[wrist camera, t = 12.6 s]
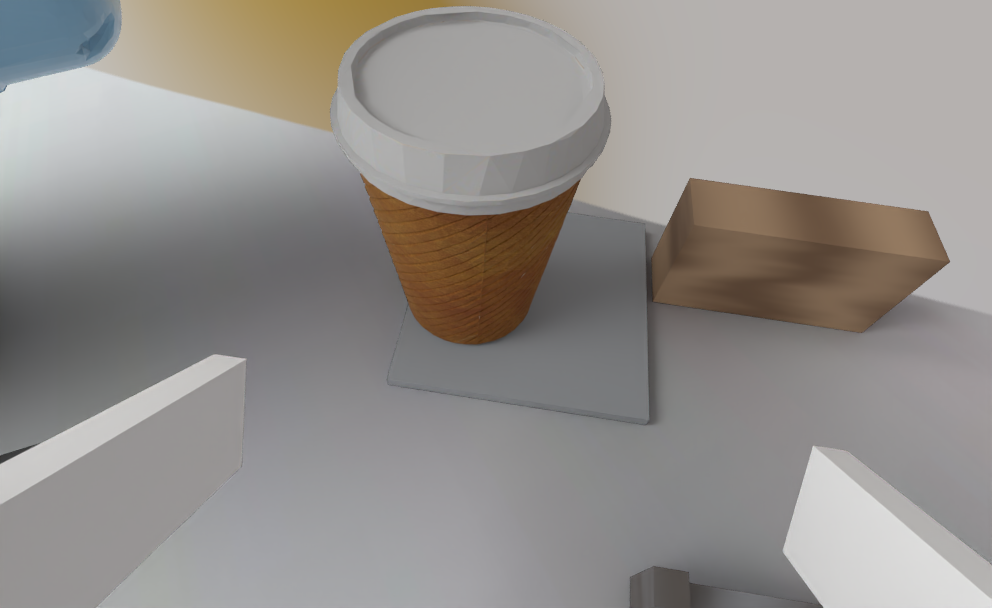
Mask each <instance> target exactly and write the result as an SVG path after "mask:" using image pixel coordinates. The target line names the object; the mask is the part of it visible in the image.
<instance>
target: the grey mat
mask: <svg viewBox="0 0 992 608" xmlns="http://www.w3.org/2000/svg"><path fill="white" fill-rule="evenodd" d="M387 382H388V385H394V386H400V387H406V388H413V389H419V390H426V391H432V392H438V393H445V394H451V395H458V396H464V397H470V398H477V399H483V400H489V401H496V402H502V403H509V404H515V405H521V406H528V407H534V408H541V409H547V410H553V411H560V412H566V413H573V414H579V415H585V416H592V417H598V418H605V419H611V420H617V421H624V422H630V423H637V424H643V425H646V424H647V422H648V421H649V381H648V335H647V289H646V243H645V223H638V222H631V221H624V220H617V219H610V218H603V217H596V216H589V215H582V214H575V213H568V212H567V215H566V217H565V220H564V222H563V225H562V228H561V230H560V233H559V236H558V238H557V240H556V242H555V245H554V248H553V250H552V253H551V255H550V258H549V260H548V263H547V266H546V268H545V270H544V273H543V275H542V278H541V280H540V283H539V285H538V288H537V290H536V292H535V295H534V298H533V300H532V303H531V305H530V308H529V311H528V314H527V315H526V317H525V318H524V320H523V321H522V322H521V323H520V324H519V325H518V326H517V328H516V329H515V330H513V331H512V332H510V333H509V334H507V335H506V336H504V337H502V338H499V339H497V340H495V341H491V342H486V343H482V344H459V343H452V342H449V341H446V340H443V339H441V338H439V337H437V336H435V335H433V334H431V333H430V332H429V331H427V330H426V329H425V328H423V327H422V326H421V325H420V324H419V322H418V321H417V320H416V319H415V317H414V315H413V314H412V312H411V310H410V307H409V303H408V306H407V310H406V313H405V317H404V320H403V324H402V327H401V331H400V334H399V338H398V341H397V345H396V348H395V352H394V355H393V359H392V362H391V366H390V369H389V373H388V376H387Z"/></svg>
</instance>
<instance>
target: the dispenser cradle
mask: <svg viewBox="0 0 992 608" xmlns="http://www.w3.org/2000/svg"><path fill="white" fill-rule="evenodd" d="M651 262H652V296H653V302H658V303H665V304H672V305H678V306H685V307H692V308H699V309H705V310H712V311H719V312H725V313H732V314H739V315H746V316H752V317H759V318H766V319H772V320H779V321H786V322H793V323H799V324H806V325H813V326H820V327H826V328H833V329H840V330H846V331H853V332H860V333H862V332H864V331H865V330H866V329H867V328H868V327H870V326H871V325H872V324H873V323H875V322H876V321H877V320H878V319H880V318H881V317H882V316H883V315H885V314H886V313H887V312H888V311H890V310H891V309H892V308H893V307H895V306H896V305H897V304H898V303H900V302H901V301H902V300H903V299H905V298H906V297H907V296H908V295H910V294H911V293H912V292H913V291H915V290H916V289H917V288H918V287H920V286H921V285H922V284H923V283H924V282H925V281H927V280H928V279H929V278H931V277H932V276H933V275H934V274H936V273H937V272H938V271H939V270H941V269H942V268H943V267H944V266H945V265H947V264H948V263H949V262H950V260H949V258H948V256H947V253H946V251H945V249H944V247H943V244H942V242H941V240H940V238H939V235H938V233H937V231H936V228H935V226H934V224H933V221H932V219H931V217H930V215H929V212H928V211H921V210H914V209H906V208H900V207H892V206H884V205H878V204H871V203H864V202H857V201H850V200H843V199H835V198H829V197H821V196H814V195H807V194H800V193H793V192H786V191H779V190H771V189H765V188H758V187H750V186H743V185H736V184H729V183H722V182H715V181H708V180H700V179H694V178H690V179H689V181H688V183H687V185H686V187H685V190H684V191H683V193H682V196H681V198H680V200H679V202H678V204H677V206H676V208H675V210H674V212H673V214H672V216H671V218H670V221H669V223H668V225H667V227H666V229H665V231H664V233H663V235H662V237H661V239H660V241H659V243H658V245H657V248H656V250H655V252H654V254H653V256H652V258H651ZM630 608H823V606H822V605H819V604H813V603H807V602H801V601H795V600H789V599H783V598H776V597H770V596H764V595H758V594H752V593H746V592H740V591H734V590H728V589H722V588H716V587H710V586H704V585H698V584H692V583H689V572H685V571H679V570H673V569H667V568H661V567H655V566H653V567H651V568H649V569H647V570H645V571H642V572H640V573H638V574H636V575H634V576H632V577H630Z"/></svg>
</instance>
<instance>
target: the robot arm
mask: <svg viewBox="0 0 992 608" xmlns="http://www.w3.org/2000/svg"><path fill="white" fill-rule="evenodd" d="M121 18H122V15H121V6H120V0H0V93H1V92H3V91H5V89H6V87H7V85H9V84H13V83H17V82H21V81H26V80H30V79H34V78H38V77H42V76H47V75H51V74H55V73H59V72H64V71H68V70H72V69H76V68H81V67H85V66H88V65H91V64H94V63H96V62H98V61H100V60H101V59H102V58H104V57H105V56H106V55H107V54H109V52H110V51H111V50H112V49H113V47H114V46H115V44H116V42H117V40H118V37H119V34H120V30H121V20H122V19H121ZM246 364H247V359H244V358H238V357H231V356H225V355H218V354H213V355H211V356H209V357H208V358H206V359H204V360H202V361H200V362H198V363H196V364H194V365H192V366H190V367H188V368H186V369H184V370H182V371H180V372H178V373H176V374H174V375H173V376H171V377H169V378H167V379H165V380H163V381H161V382H159V383H157V384H155V385H153V386H151V387H149V388H147V389H145V390H143V391H141V392H139V393H138V394H136V395H134V396H132V397H130V398H128V399H126V400H124V401H122V402H120V403H118V404H116V405H114V406H112V407H110V408H108V409H106V410H104V411H103V412H101V413H99V414H97V415H95V416H93V417H91V418H89V419H87V420H85V421H83V422H81V423H79V424H77V425H75V426H73V427H71V428H69V429H68V430H66V431H64V432H62V433H60V434H58V435H56V436H54V437H52V438H50V439H48V440H46V441H44V442H42V443H39V444H36V445H33V446H30V447H26V448H23V449H20V450H17V451H13V452H10V453H7V454H4V455H1V456H0V608H96V607H97V606H98V605H99V604H100V603H101V602H102V601H103V600H104V599H105V598H106V597H107V596H108V595H109V594H110V593H111V592H112V591H113V590H114V589H115V588H116V587H117V586H118V585H119V584H121V583H122V582H123V581H124V580H125V579H126V578H127V577H128V576H129V575H130V574H131V573H132V572H133V571H134V570H135V569H136V568H137V567H138V566H139V565H140V564H141V563H142V562H143V561H144V560H145V559H146V558H147V557H149V556H150V555H151V554H152V553H153V552H154V551H155V550H156V549H157V548H158V547H159V546H160V545H161V544H162V543H163V542H164V541H165V540H166V539H167V538H168V537H169V536H170V535H171V534H172V533H173V532H174V531H175V530H177V529H178V528H179V527H180V526H181V525H182V524H183V523H184V522H185V521H186V520H187V519H188V518H189V517H190V516H191V515H192V514H193V513H194V512H195V511H196V510H197V509H198V508H199V507H200V506H201V505H202V504H203V503H204V502H206V501H207V500H208V499H209V498H210V497H211V496H212V495H213V494H214V493H215V492H216V491H217V490H218V489H219V488H220V487H221V486H222V485H223V484H224V483H225V482H226V481H227V480H228V479H229V478H230V477H231V476H232V475H234V474H235V473H236V472H237V471H238V470H239V469H240V468H241V467H242V453H243V431H244V408H245V386H246ZM783 553H784V554H785V556H786V557H787V558H788V560H789V561H790V562H791V564H792V565H793V567H794V568H795V569H796V571H797V572H798V573H799V575H800V576H801V578H802V579H803V580H804V582H805V583H806V584H807V586H808V587H809V589H810V590H811V591H812V593H813V594H814V595H815V597H816V598H817V600H818V601H819V602H820V604H821V605H822V606H823V608H992V565H991V564H990V563H989V562H988V561H986V560H985V559H984V558H982V557H981V556H980V555H979V554H977V553H976V552H975V551H974V550H972V549H971V548H970V547H968V546H967V545H966V544H965V543H963V542H962V541H961V540H960V539H958V538H957V537H956V536H955V535H953V534H952V533H951V532H949V531H948V530H947V529H946V528H944V527H943V526H942V525H941V524H939V523H938V522H937V521H936V520H934V519H933V518H932V517H930V516H929V515H928V514H927V513H925V512H924V511H923V510H922V509H920V508H919V507H918V506H916V505H915V504H914V503H913V502H911V501H910V500H909V499H908V498H906V497H905V496H904V495H903V494H901V493H900V492H899V491H897V490H896V489H895V488H894V487H892V486H891V485H890V484H889V483H887V482H886V481H885V480H884V479H882V478H881V477H880V476H878V475H877V474H876V473H875V472H873V471H872V470H871V469H870V468H868V467H867V466H866V465H865V464H863V463H862V462H861V461H859V460H858V459H857V458H856V457H854V456H853V455H852V454H851V453H849V452H848V451H845V450H839V449H832V448H826V447H819V446H813V448H812V452H811V455H810V458H809V462H808V465H807V469H806V472H805V476H804V479H803V483H802V486H801V489H800V493H799V496H798V500H797V503H796V507H795V510H794V513H793V517H792V520H791V524H790V527H789V531H788V534H787V538H786V541H785V544H784V548H783Z"/></svg>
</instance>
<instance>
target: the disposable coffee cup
mask: <svg viewBox="0 0 992 608" xmlns="http://www.w3.org/2000/svg"><path fill="white" fill-rule="evenodd" d="M330 117H331V127H332V130H333V132H334V135H335V138H336V141H337V143H338V144H339V146H340V147H341V149H342V150H343V152H344V153H345V155H346V156H347V158H348V159H349V161H350V162H351V163H352V164H353V165H354V166H355V167H356V168H357V170H358V171H359V172H360V175H361V177H362V180H363V182H364V183H365V188H366V191H367V193H368V195H369V196H370V202H371V204H372V206H373V208H374V212H375V215H376V217H377V219H378V223H379V225H380V228H381V229H382V234H383V236H384V238H385V242H386V244H387V247H388V249H389V253H390V255H391V257H392V259H393V263H394V265H395V267H396V271H397V273H398V275H399V279H400V281H401V283H402V287H403V289H404V293H405V295H406V298H407V301H408V303H409V307H410V310H411V312H412V314H413V315H414V317H415V319H416V320H417V321H418V322H419V324H420V325H421V326H422V327H423V328H425V329H426V330H427V331H429V332H430V333H431V334H433V335H435V336H437V337H439V338H441V339H443V340H446V341H449V342H452V343H459V344H482V343H486V342H491V341H495V340H497V339H499V338H502V337H504V336H506V335H507V334H509V333H510V332H512V331H513V330H515V329H516V328H517V326H518V325H519V324H520V323H521V322H522V321H523V320H524V318H525V317H526V315H527V314H528V311H529V308H530V305H531V303H532V300H533V298H534V295H535V292H536V290H537V288H538V285H539V283H540V280H541V278H542V275H543V273H544V270H545V268H546V266H547V263H548V260H549V258H550V255H551V253H552V250H553V248H554V245H555V242H556V240H557V238H558V236H559V233H560V230H561V228H562V225H563V222H564V220H565V217H566V215H567V212H568V210H569V207H570V205H571V203H572V200H573V197H574V195H575V193H576V190H577V187H578V185H579V182H580V180H581V178H582V177H583V175H584V174H585V173H586V171H587V170H588V169H589V168H590V167H591V166H593V164H594V163H595V161H596V160H597V158H598V157H599V156H600V154H601V153H602V151H603V149H604V147H605V144H606V142H607V139H608V136H609V133H610V126H611V115H610V110H609V106H608V103H607V101H606V98H605V95H604V78H603V72H602V70H601V68H600V66H599V64H598V62H597V60H596V58H595V56H594V55H593V54H592V53H591V52H590V51H589V50H588V49H587V48H586V47H585V46H584V45H583V44H582V43H581V42H580V41H579V40H577V39H576V38H575V37H573V36H572V35H570V34H569V33H567V32H566V31H565V30H562V29H560V28H558V27H556V26H554V25H552V24H550V23H548V22H546V21H543V20H540V19H537V18H534V17H532V16H529V15H526V14H522V13H517V12H513V11H507V10H501V9H495V8H488V7H473V6H462V7H461V6H459V7H442V8H432V9H427V10H421V11H416V12H412V13H409V14H405V15H402V16H399V17H395V18H393V19H391V20H389V21H387V22H385V23H383V24H381V25H379V26H377V27H375V28H373V29H371V30H369V31H367V32H365V33H364V34H363V35H362V36H361V37H359V38H358V39H357V40H356V41H355V42H354V43H353V44H352V45H351V46H350V47H349V49H348V50H347V51H346V52H345V53H344V56H343V59H342V62H341V64H340V67H339V70H338V88H337V90H336V92H335V94H334V96H333V98H332V103H331V108H330Z"/></svg>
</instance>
